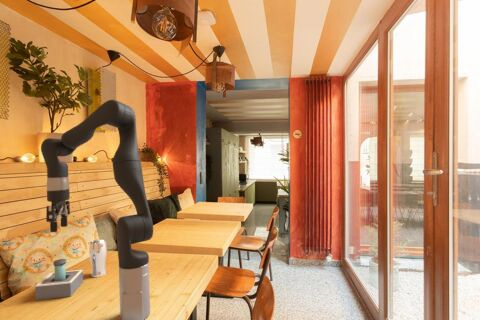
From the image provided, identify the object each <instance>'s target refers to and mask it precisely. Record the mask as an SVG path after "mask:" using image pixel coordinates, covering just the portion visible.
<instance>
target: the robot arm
mask: <svg viewBox="0 0 480 320" xmlns="http://www.w3.org/2000/svg"><path fill="white" fill-rule="evenodd" d="M136 119H137V117H136V112H135V111H134V109H133V108H132V107H131V106H129V105H128V104H126V103H123V102H121V101H118V100H116V99H109V100H107V101H105V102H103V103H102V104H101V105H100V106H99V107H97V108H96V109H95V110H94V111H93V112H92V113H90V114H89V115H88V116H87V117H86V118H85V119H84V120H83V121H81V122H80V123H79V124H77V125H75V126H73V127H71V128H70V129H69V130H67V131H65V132H63V134H62V135H61V138H49V137H48V138H45V139H44V140H43V141H42V143H41V146H40V150H41V155H42V157H43V158H42V159H43V161H44V163H45V166H46V201H47V202H50V203H51V204H50V205H46V208H45V209H46V214H45V215H46V218H45V219H46V223H49V226H50V229H49V230H50V231H49V232H51V233H57V232H58V222H59V218H60V227H62V228H63V227H64V228H66V227H68V217H69V215H70V214H71V207H70V194H71V193H70V180H69V164H68V163H66V162H62V161H60V159H59V157H67V156H69V155H72V154H73V153H74V152H75V151H76V150H77V148H79V147H80V146H82V145H84V144H87V143H88V142H89V141H90V140H92V138H93V137H94V134H95V132H96V130H97V129H98V128H100V127H103V126H106V125H108V126H112V127H114V128H117V131H118V136H119V144H118V147H117V149H116V151H115V153H114V155H113V158H112V170H113V176H114V181H115V182H116V184H117V185H118V187H120V189H121V190H122V191H123V192H124V193H125V194H126V195H127V197H128V198H129V199H130V201H132V203H133V205H134V208H135V212H136V214H131V215H125V216H120V217H119V218H117V221H116V226H115V227H116V228H115V229H116V230H115V231H116V242H117V244H116V245H117V257H118V283H119V284H118V285H119V318H120V319H119V320H146V319H147V318H149V316H150V315H151V300H150V299H151V296H150V295H151V294H150V291H151V290H150V256H149V255H150V254H149V253H148V252H147V251H144V250H140V249H139V250H138V249H133V248H132V245H134V244H138V243H142V242H143V243H144V242H147V241H149V240H151V239H152V238H153V236H154V224H153V219H152V214H151V211H150V206H149V203H148V199H147V198H148V197H147V194H146V189H145V182H144V174H143V169H142V164H141V158H140V151H139V145H138V137H137V133H138V132H137V120H136Z"/></svg>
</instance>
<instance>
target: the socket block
mask: <svg viewBox="0 0 480 320" xmlns="http://www.w3.org/2000/svg"><path fill="white" fill-rule="evenodd" d="M65 271H66V280H65V281H55V271H54V272H50V273H49V274H48V275H47V276H45V277H44V278H43V279H41V280H40V281H39V282H38V283H37V284H35V286H34V292H35V293H34V294H35V295H34V296H35V301H40V300H41V301H42V300H51V299H59V298H60V299H61V298H69V297H72V296H73V295H74V293H76V291H77V290H78V289H79V288H80V287H81V285H82V284H83V283H84V270H83V269H76V270H65Z"/></svg>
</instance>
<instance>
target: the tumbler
mask: <svg viewBox="0 0 480 320" xmlns="http://www.w3.org/2000/svg"><path fill="white" fill-rule="evenodd" d="M107 249H108V247H107V240H106V239H102V238H101V239H95V240H92V241H90V242H89V251H88V252H89V254H88V256H89V260H90V264H91V274H90V277H91V278H100V277H103V276H105V275H106V274H107V270H106V261H107V260H106V259H107V254H108V253H107V251H108V250H107Z"/></svg>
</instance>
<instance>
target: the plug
mask: <svg viewBox="0 0 480 320" xmlns="http://www.w3.org/2000/svg"><path fill="white" fill-rule="evenodd" d="M66 263H67V259H66V258H59V259H56V260H53V267H54V272H55V281H65V280H66V271H67V270H66Z"/></svg>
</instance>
